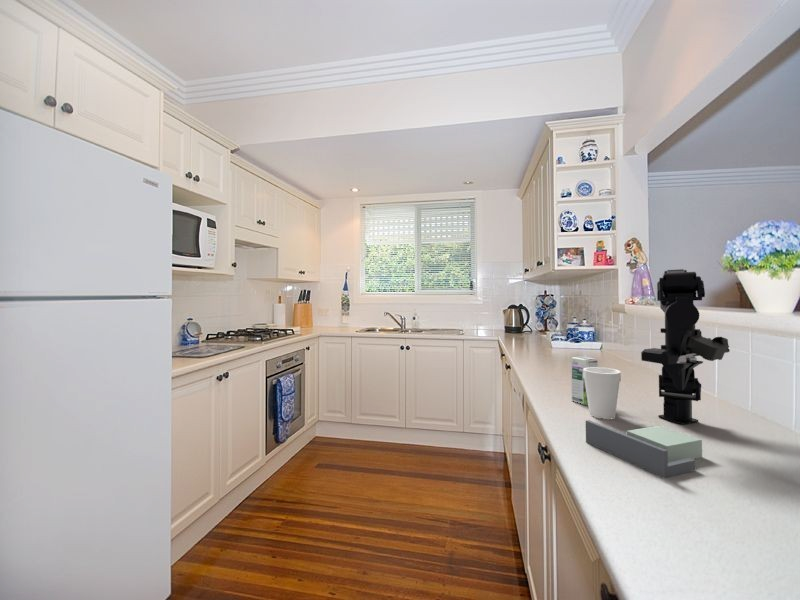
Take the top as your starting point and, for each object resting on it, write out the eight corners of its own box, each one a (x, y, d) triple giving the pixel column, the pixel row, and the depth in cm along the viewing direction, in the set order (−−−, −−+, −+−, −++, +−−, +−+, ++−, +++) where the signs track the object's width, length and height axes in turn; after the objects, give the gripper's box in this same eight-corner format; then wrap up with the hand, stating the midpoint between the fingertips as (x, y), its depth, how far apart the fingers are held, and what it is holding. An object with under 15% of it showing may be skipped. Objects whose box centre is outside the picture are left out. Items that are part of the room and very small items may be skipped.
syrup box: (570, 401, 116) (570, 357, 116) (583, 398, 119) (582, 355, 119) (586, 405, 111) (585, 359, 111) (598, 403, 114) (598, 358, 114)
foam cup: (621, 423, 95) (620, 375, 95) (582, 417, 100) (582, 371, 100) (621, 413, 103) (620, 369, 103) (585, 408, 108) (584, 366, 108)
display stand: (613, 437, 86) (612, 416, 86) (695, 470, 69) (694, 444, 69) (585, 441, 83) (585, 420, 83) (664, 477, 66) (663, 451, 66)
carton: (659, 442, 83) (659, 425, 83) (702, 458, 75) (701, 439, 75) (627, 448, 80) (626, 430, 80) (667, 465, 72) (667, 446, 72)
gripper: (690, 329, 74) (691, 403, 74) (746, 325, 80) (747, 394, 80) (639, 325, 85) (640, 390, 85) (691, 322, 91) (692, 383, 91)
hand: (680, 389), depth 85 cm, fingers closed
